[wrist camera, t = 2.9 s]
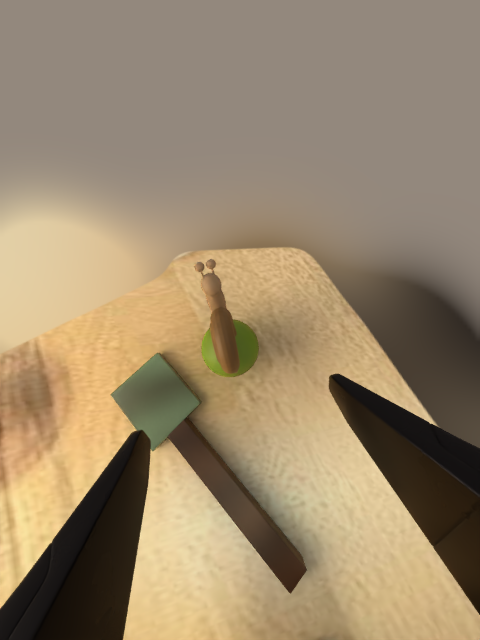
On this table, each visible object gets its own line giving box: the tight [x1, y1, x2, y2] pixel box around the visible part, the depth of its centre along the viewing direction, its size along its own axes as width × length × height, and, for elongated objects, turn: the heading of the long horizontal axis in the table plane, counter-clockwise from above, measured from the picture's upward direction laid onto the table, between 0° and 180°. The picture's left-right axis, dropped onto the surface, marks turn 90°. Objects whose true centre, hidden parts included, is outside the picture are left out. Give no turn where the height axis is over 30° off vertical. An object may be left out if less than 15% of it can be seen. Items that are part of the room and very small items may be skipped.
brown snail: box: [194, 259, 259, 377], centre depth 15 cm, size 5×6×12 cm
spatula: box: [111, 353, 307, 594], centre depth 18 cm, size 22×6×1 cm, turn 45°
